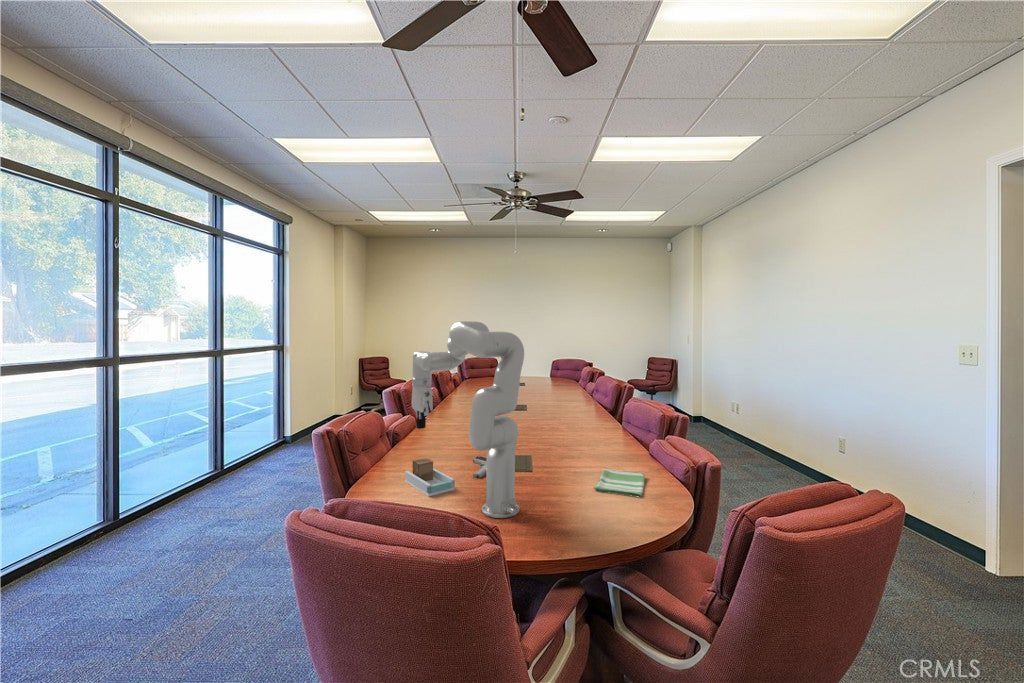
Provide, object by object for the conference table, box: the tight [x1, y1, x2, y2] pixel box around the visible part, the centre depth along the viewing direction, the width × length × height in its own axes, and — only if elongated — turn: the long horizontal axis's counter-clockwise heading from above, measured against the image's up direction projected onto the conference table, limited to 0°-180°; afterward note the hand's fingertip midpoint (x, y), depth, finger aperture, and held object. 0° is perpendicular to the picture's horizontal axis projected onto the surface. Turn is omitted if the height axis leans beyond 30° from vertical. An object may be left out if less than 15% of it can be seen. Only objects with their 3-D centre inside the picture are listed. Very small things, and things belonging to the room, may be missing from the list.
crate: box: [411, 457, 434, 481], centre depth 175 cm, size 6×6×7 cm
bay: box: [404, 467, 456, 497], centre depth 170 cm, size 20×11×4 cm, turn 38°
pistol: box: [472, 455, 487, 479], centre depth 192 cm, size 23×3×14 cm
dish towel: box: [593, 468, 646, 498], centre depth 173 cm, size 18×23×3 cm
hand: (420, 427), depth 175 cm, fingers closed
